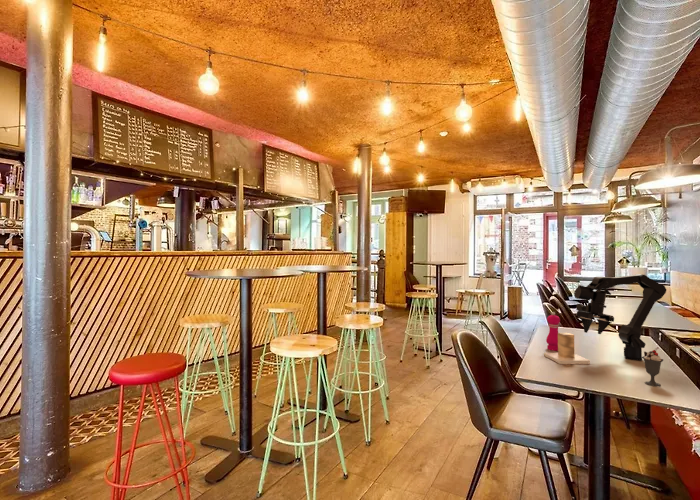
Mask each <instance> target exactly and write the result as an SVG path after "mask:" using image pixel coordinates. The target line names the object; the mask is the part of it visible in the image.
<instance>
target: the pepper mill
mask: <svg viewBox="0 0 700 500" xmlns="http://www.w3.org/2000/svg"><path fill="white" fill-rule="evenodd" d="M546 319H547V323H548V324H547V326H548V327H549V329H548V330H549V331H548V334H547V337H546V339H545V341H546V343H547V346H546V347H547V350H549V351H551V352H552V351H553V352H554V351H555V352H558V333H559V328H560V322H561V319H560V317H559V316H558V315H556V312H555V311H552V312H551V314H550V315H549V316H547V318H546Z"/></svg>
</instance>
